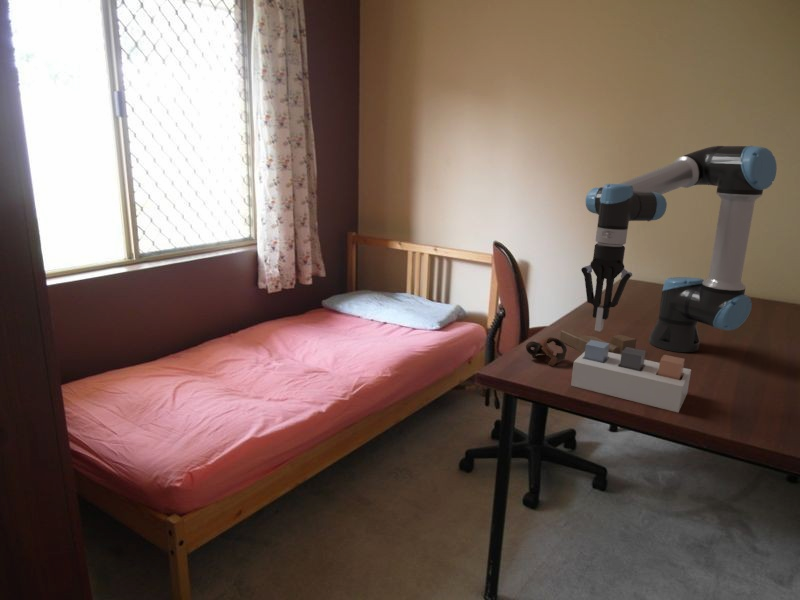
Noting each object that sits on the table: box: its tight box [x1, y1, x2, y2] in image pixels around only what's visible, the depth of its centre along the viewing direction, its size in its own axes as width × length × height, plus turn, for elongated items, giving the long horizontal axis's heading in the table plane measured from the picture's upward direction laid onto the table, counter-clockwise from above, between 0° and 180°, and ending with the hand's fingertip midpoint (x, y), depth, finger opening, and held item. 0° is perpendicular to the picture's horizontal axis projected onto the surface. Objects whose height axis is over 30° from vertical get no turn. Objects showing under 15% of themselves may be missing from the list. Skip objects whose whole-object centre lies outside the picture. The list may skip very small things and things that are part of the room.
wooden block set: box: [559, 329, 637, 355], centre depth 187 cm, size 17×6×18 cm
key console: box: [570, 352, 692, 413], centre depth 153 cm, size 27×14×7 cm, turn 56°
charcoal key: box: [620, 347, 647, 371], centre depth 152 cm, size 5×5×5 cm
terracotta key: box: [658, 354, 686, 380], centre depth 147 cm, size 5×5×5 cm
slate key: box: [584, 340, 610, 363], centre depth 157 cm, size 5×5×5 cm
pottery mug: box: [525, 336, 568, 367], centre depth 173 cm, size 12×10×8 cm
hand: (598, 329), depth 155 cm, fingers closed
